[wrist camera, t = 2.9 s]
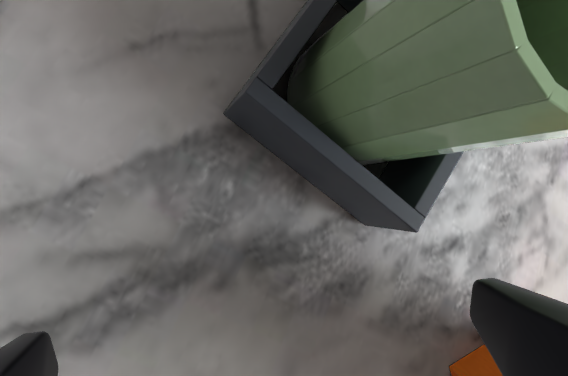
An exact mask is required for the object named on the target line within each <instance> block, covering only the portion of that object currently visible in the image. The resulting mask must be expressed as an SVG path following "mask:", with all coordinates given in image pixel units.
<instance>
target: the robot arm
mask: <svg viewBox="0 0 568 376" xmlns="http://www.w3.org/2000/svg"><path fill="white" fill-rule="evenodd" d="M470 317H471V320H472V323H473V325H474V326H475V328H476V330H477V332H478V333H479V335H480V337H481V339H482V340H483V342H484V344H485V346H486V347H487V349H488V351H489V353H490V354H491V356H492V358H493V359H494V361H495V363H496V365H497V366H498V368H499V370H500V372H501V373H502V375H503V376H568V304H566V303H563V302H561V301H558V300H555V299H552V298H549V297H546V296H544V295H541V294H538V293H535V292H532V291H529V290H527V289H524V288H521V287H518V286H515V285H512V284H510V283H507V282H504V281H501V280H498V279H495V278H488V279H480V280H476V281H475V282H474V284H473V288H472V296H471V305H470ZM0 376H58V362H57V358H56V355H55V351H54V348H53V344H52V341H51V338H50V335H49V334H48V333H47V332H45V331H42V332H33V333H26V334H23V335H21V336H19V337H18V338H16V339H14V340H13V341H11V342H10V343H8V344H7V345H5V346H3V347H2V348H0Z"/></svg>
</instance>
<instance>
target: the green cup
mask: <svg viewBox="0 0 568 376" xmlns="http://www.w3.org/2000/svg"><path fill="white" fill-rule="evenodd" d="M287 103H288V104H289V105H291V106H292V107H293V108H294V109H295V110H297V111H298V112H299V113H300V114H301V115H303V116H304V117H305V118H306V119H307V120H309V121H310V122H311V123H312V124H313V125H315V126H316V127H317V128H318V129H319V130H320V131H322V132H323V133H324V134H325V135H326V136H328V137H329V138H330V139H331V140H332V141H334V142H335V143H336V144H337V145H338V146H340V147H341V148H342V149H343V150H344V151H346V152H347V153H348V154H349V155H350V156H351V157H353V158H354V159H355V160H356V161H357V162H359V163H360V164H361V165H365V164H372V163H380V162H387V161H395V160H402V159H410V158H417V157H424V156H432V155H439V154H447V153H454V152H462V151H469V150H477V149H484V148H491V147H499V146H506V145H514V144H521V143H529V142H536V141H544V140H551V139H558V138H566V137H568V0H362V1H361V2H359V3H358V4H357V5H356V6H355V7H354V8H353V9H351V10H350V11H349V12H348V13H347V14H346V15H345V16H344V17H342V18H341V19H340V20H339V21H338V22H337V23H336V24H335V25H333V26H332V27H331V28H330V29H329V30H328V31H327V32H325V33H324V34H323V35H322V36H321V37H320V38H319V39H318V40H317V41H315V42H314V43H313V44H312V45H311V46H310V47H309V48H308V49H307V50H306V51H305V52H304V53H303V54H302V55H301V56H300V57H299V59H298V60H297V62H296V63H295V65H294V67H293V69H292V72H291V75H290V78H289V82H288V87H287Z"/></svg>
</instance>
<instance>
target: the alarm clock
mask: <svg viewBox="0 0 568 376" xmlns="http://www.w3.org/2000/svg"><path fill="white" fill-rule="evenodd" d="M449 368H450V372H451V375H452V376H503V375H502V373H501V372H500V370H499V368H498V366H497V365H496V363H495V361H494V359H493V358H492V356H491V354H490V353H489V351H488V349H487V347H486V346H485V344H484V345H483V346H481V347H479V348H478V349H476V350H475V351H473V352H471V353H470V354H468V355H467V356H465V357H463V358H462V359H460V360H459V361H457V362H455V363H454V364H452V365H451V366H449Z"/></svg>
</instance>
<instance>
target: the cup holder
mask: <svg viewBox="0 0 568 376" xmlns="http://www.w3.org/2000/svg"><path fill="white" fill-rule="evenodd" d="M336 1H338V2H339V3H340V4H341V5H342V6H343V7H344V8H345V9H346V10H347V11H348V12H349V11H350V10H351V9H353V8H354V7H355V6H356V5H357V4H358V3H359V2H361V1H362V0H308V1H307V2H306V4H305V5H304V6H303V8H302V9H301V10H300V12H299V13H298V14H297V16H296V17H295V18H294V20H293V21H292V22H291V24H290V25H289V26H288V28H287V29H286V30H285V32H284V33H283V34H282V36H281V37H280V38H279V40H278V41H277V42H276V44H275V45H274V46H273V48H272V49H271V50H270V52H269V53H268V54H267V56H266V57H265V58H264V60H263V61H262V62H261V64H260V65H259V66H258V68H257V69H256V70H255V72H254V73H253V74H252V76H251V77H250V78H249V80H248V81H247V82H246V84H245V85H244V86H243V88H242V89H241V90H240V92H239V93H238V94H237V96H236V97H235V98H234V100H233V101H232V102H231V104H230V105H229V106H228V108H227V109H226V110H225V112H224V113H223V114H224V115H225V116H227V117H228V118H229V119H230V120H232V121H233V122H234V123H235V124H237V125H238V126H239V127H241V128H242V129H243V130H244V131H246V132H247V133H248V134H249V135H251V136H252V137H253V138H255V139H256V140H257V141H258V142H260V143H261V144H262V145H263V146H265V147H266V148H267V149H269V150H270V151H271V152H272V153H274V154H275V155H276V156H277V157H279V158H280V159H281V160H283V161H284V162H285V163H286V164H288V165H289V166H290V167H291V168H293V169H294V170H295V171H297V172H298V173H299V174H300V175H302V176H303V177H304V178H305V179H307V180H308V181H309V182H311V183H312V184H313V185H314V186H316V187H317V188H318V189H319V190H321V191H322V192H323V193H325V194H326V195H327V196H328V197H330V198H331V199H332V200H333V201H335V202H336V203H337V204H339V205H340V206H341V207H342V208H344V209H345V210H346V211H347V212H349V213H350V214H351V215H353V216H354V217H355V218H356V219H358V220H359V221H360V222H361V223H363V224H364V225H367V226H374V227H381V228H388V229H396V230H403V231H410V232H418V231H419V229H420V227H421V225H422V224H423V222H424V220H425V218H426V217H427V215H428V213H429V212H430V210H431V208H432V206H433V205H434V203H435V201H436V199H437V198H438V196H439V194H440V192H441V191H442V189H443V187H444V185H445V184H446V182H447V180H448V178H449V177H450V175H451V173H452V171H453V170H454V168H455V166H456V164H457V163H458V161H459V159H460V157H461V156H462V154H463V152H464V151H462V152H454V153H447V154H439V155H432V156H424V157H417V158H410V159H402V160H395V161H390V162H389V164H388V165H387V167H386V169H385V170H384V172H383V173H382V175H381V177H380V178H379V179H378V178H377V177H375V176H374V175H373V174H372V173H371V172H369V171H368V170H367V169H366V168H365V167H363V166H362V165H361V164H360V163H359V162H357V161H356V160H355V159H354V158H353V157H351V156H350V155H349V154H348V153H347V152H346V151H344V150H343V149H342V148H341V147H340V146H338V145H337V144H336V143H335V142H334V141H332V140H331V139H330V138H329V137H328V136H326V135H325V134H324V133H323V132H322V131H320V130H319V129H318V128H317V127H316V126H315V125H313V124H312V123H311V122H310V121H309V120H307V119H306V118H305V117H304V116H303V115H301V114H300V113H299V112H298V111H297V110H295V109H294V108H293V107H292V106H291V105H289V104H288V103H287V102H286V101H285V100H284V99H282V98H281V97H280V96H279V95H278V94H276V93H275V92H274V91H273V90H272V89H273V88H274V86H275V85H276V84H277V82H278V81H279V79H280V78H281V77H282V75H283V74H284V73H285V71H286V70H287V69H288V67H289V66H290V64H291V63H292V62H293V60H294V59H295V58H296V56H297V55H298V53H299V52H300V51H301V49H302V48H303V47H304V45H305V44H306V42H307V41H308V40H309V38H310V37H311V36H312V34H313V33H314V31H315V30H316V29H317V27H318V26H319V25H320V23H321V22H322V20H323V19H324V18H325V16H326V15H327V14H328V12H329V11H330V10H331V8H332V7H333V5H334V4H335V3H336Z"/></svg>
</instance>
